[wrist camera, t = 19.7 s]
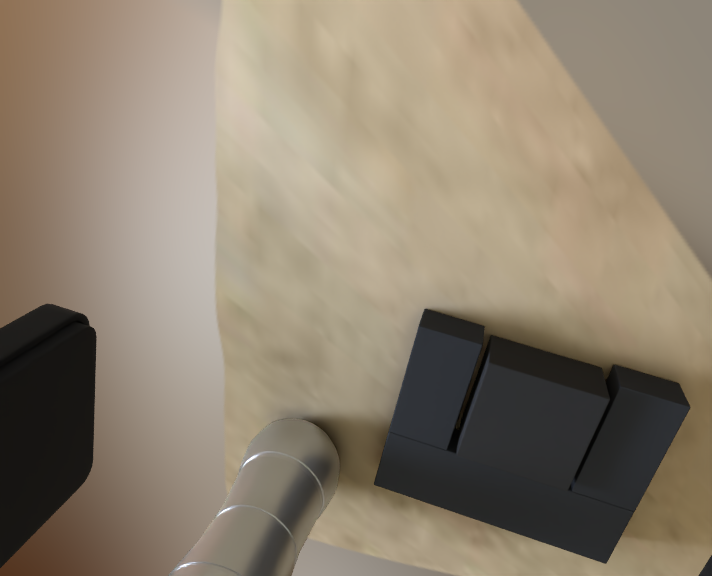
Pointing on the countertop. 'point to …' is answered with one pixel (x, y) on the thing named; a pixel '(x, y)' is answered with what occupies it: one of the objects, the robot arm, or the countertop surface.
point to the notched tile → (511, 492)
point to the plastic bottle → (269, 504)
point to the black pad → (532, 413)
